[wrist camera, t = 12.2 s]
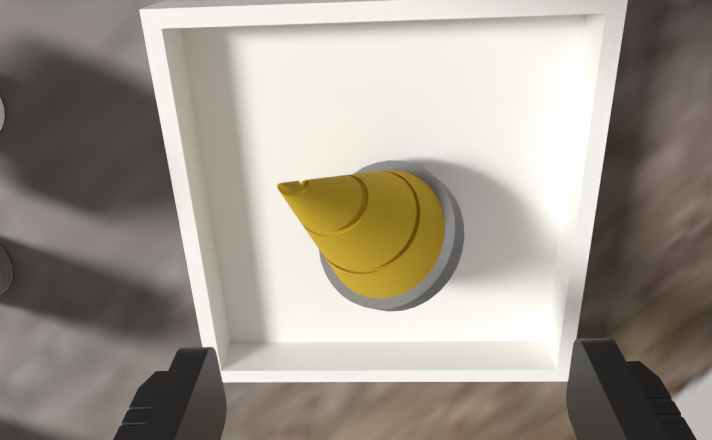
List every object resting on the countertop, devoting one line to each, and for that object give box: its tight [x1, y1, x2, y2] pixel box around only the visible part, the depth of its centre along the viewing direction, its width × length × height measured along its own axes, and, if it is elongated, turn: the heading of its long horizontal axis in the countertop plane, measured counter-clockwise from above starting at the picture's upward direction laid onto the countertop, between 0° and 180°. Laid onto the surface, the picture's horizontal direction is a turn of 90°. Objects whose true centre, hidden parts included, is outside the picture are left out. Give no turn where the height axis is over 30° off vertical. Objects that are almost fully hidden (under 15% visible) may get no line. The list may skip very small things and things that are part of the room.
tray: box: [139, 0, 628, 382], centre depth 23 cm, size 15×15×2 cm
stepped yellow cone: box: [277, 160, 464, 312], centre depth 20 cm, size 5×5×10 cm
